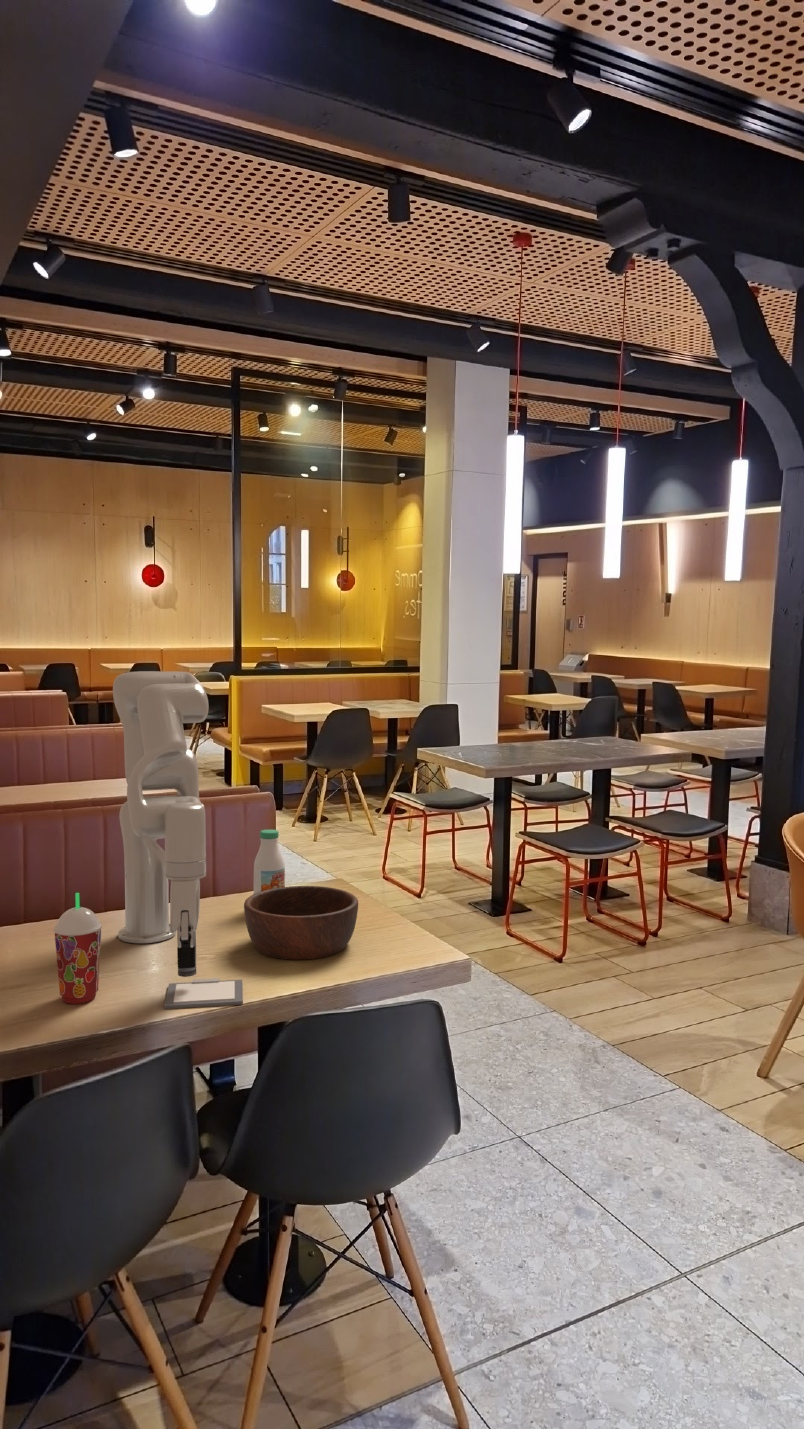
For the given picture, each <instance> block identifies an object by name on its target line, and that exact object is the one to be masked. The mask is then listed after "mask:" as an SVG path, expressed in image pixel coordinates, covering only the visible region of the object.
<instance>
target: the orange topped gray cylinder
mask: <svg viewBox="0 0 804 1429" xmlns="http://www.w3.org/2000/svg"><path fill="white" fill-rule="evenodd" d="M188 930H191V927H189V928H188ZM196 932H197V930H196V931H195V932H194V933H193V940H194V946H195V967H194V968H182V969H179V968H178V967H177V975H178V976H179V977H181V978H182V977H183V978H189V977H193V976H195V975H196V974H197V933H196ZM176 933H177V941H178V929H177V931H176ZM188 935H189V936H190V934H188Z"/></svg>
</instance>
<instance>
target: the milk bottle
mask: <svg viewBox="0 0 804 1429" xmlns="http://www.w3.org/2000/svg"><path fill="white" fill-rule="evenodd" d="M279 836H280V833H279V831H278V830H277V829H262V830H260V832H259V838H260V839H259V840H260V845H259V849H258V852H257V854H256V856H255V858H254V862H253V894H256V893H258V892H261V891H265V890H269V889H274V888H280V887H286V871H285V870H286V868H285V867H286V866H285V859H284V856H283V854H282V851H281V849H280V847H279V843H278V841H279Z"/></svg>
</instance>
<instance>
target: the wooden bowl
mask: <svg viewBox="0 0 804 1429" xmlns="http://www.w3.org/2000/svg"><path fill="white" fill-rule="evenodd" d="M243 910H244V911H243V912H244V918H245V923H246V924H245V925H246V929H247V934H248V935H249V938H250V941H251V943H252V944H253V946H254V948H256V950H257V951H259V952H260V953H261V954H263V955H266V956H267V957H271V958H274V959H275V958H276V959H281V960H293V961H303V960H304V961H305V960H314V959H322V958H326V957H330V956H333V955H336V954H338V953H339V952H341V951H342V950H344V949H345V948H346V947H347V946H348V944H349V942H350V941H351V939H352V937H353V934H354V932H355V927H356V923H357V919H358V918H357V917H358V913H359V912H358V911H359V900H358V897H357V896H356V895H354V894H353V893H351V892H349V891H346V890H343V889H339V888H335V887H334V888H333V887H329V886H321V885H320V886H318V885H294V886H293V885H291V886H285V887H280V888H274V889H269V890H265V891H261V892H258V893H256V894H254V893H252V895H249V897H247V898H246V899H245V901H244V904H243Z"/></svg>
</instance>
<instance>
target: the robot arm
mask: <svg viewBox="0 0 804 1429" xmlns="http://www.w3.org/2000/svg"><path fill="white" fill-rule="evenodd" d="M113 680H114V681H113V684H112V685H113V686H112V697H113V703H114V706H115V709H116V712H117V715H118V717H119V720H120V723H121V725H122V729H123V744H124V746H123V747H124V773H125V781H126V784H127V786H126V800H127V801H125V802H124V803H123V804H122V805H121V807H120V810H119V816H118V817H119V824H120V829H121V830H120V831H121V837H122V843H123V856H124V857H123V860H124V864H123V865H124V902H125V904H124V905H125V906H124V907H125V909H124V911H125V912H124V918H125V920H124V921H125V922H124V924H125V926H123V927H122V928H121V929H119V930H118V932H117V937H118V939H119V940H121V941H122V942H124V943H125V942H126V943H129V944H153V943H158V942H163V941H167V940H168V939H171V938H173V937H174V936H175V935H176V933H177V929H178V940H177V951H176V952H177V956H176V957H177V969H178V968H179V969H182V968H194V967H195V946H194V940H193V933H194V932H195V931H196V932H197V930H198V924H199V918H200V904H201V902H200V901H201V900H200V898H201V879H203V878H205V877H207V835H206V833H207V832H206V830H207V829H206V825H207V824H206V808H205V805H204V803H202V802H201V800H200V788H199V787H200V784H199V782H200V781H199V780H200V779H199V765H198V761H197V757H196V755H195V753H194V752H193V750H191V749H190V748H188V746H187V741H186V736H185V731H184V724H197V723H202V722H204V721H205V720H206V719H207V717H208V714H209V708H210V707H209V699H208V695H207V693H206V690H205V688H204V686H203V684H202V683H201V682H200V680H198V679H197V678H196V677H195V676H194V675H193V674H192V673H191V672H189V671H177V670H176V671H175V670H173V671H171V670H169V671H161V670H160V671H157V670H156V671H155V670H151V671H150V670H149V671H147V670H146V671H145V670H143V671H141V670H139V671H128V672H124V673H121V674H119V675H117V676H116V677H115V679H113ZM163 790H166V791H167V790H175V791H176V793H177V794H173V795H172V794H171V795H152V796H144V794H143V792H145V791H163ZM160 839H162V840H163V839H164V848H162V847H161V846H160V844H158V842H157V840H160ZM169 881H170V891H169ZM169 892H170V894H169ZM169 910H170V911H169ZM169 912H170V914H169ZM189 927H191V930H188V928H189ZM188 934H190V936H189V935H188Z"/></svg>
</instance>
